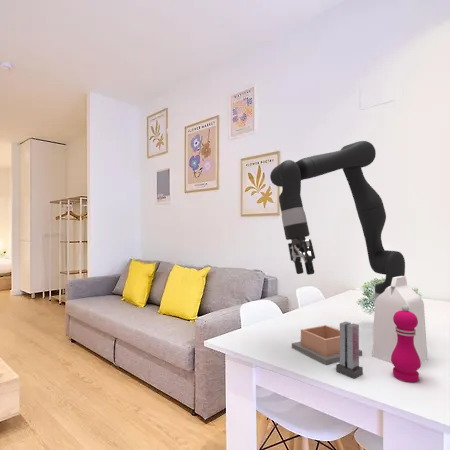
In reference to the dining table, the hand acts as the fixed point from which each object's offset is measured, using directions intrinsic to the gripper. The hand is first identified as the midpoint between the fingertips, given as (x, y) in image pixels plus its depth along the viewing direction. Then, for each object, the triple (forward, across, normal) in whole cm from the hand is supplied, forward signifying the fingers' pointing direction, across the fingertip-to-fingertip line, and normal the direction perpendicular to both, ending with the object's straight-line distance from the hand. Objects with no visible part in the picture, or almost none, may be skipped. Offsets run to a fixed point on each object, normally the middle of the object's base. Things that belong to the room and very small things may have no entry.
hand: (305, 273), depth 99 cm
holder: (+28, +10, -5) cm, 30 cm away
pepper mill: (+32, -11, -18) cm, 39 cm away
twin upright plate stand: (+29, -6, -4) cm, 30 cm away
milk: (+32, +1, -26) cm, 41 cm away
